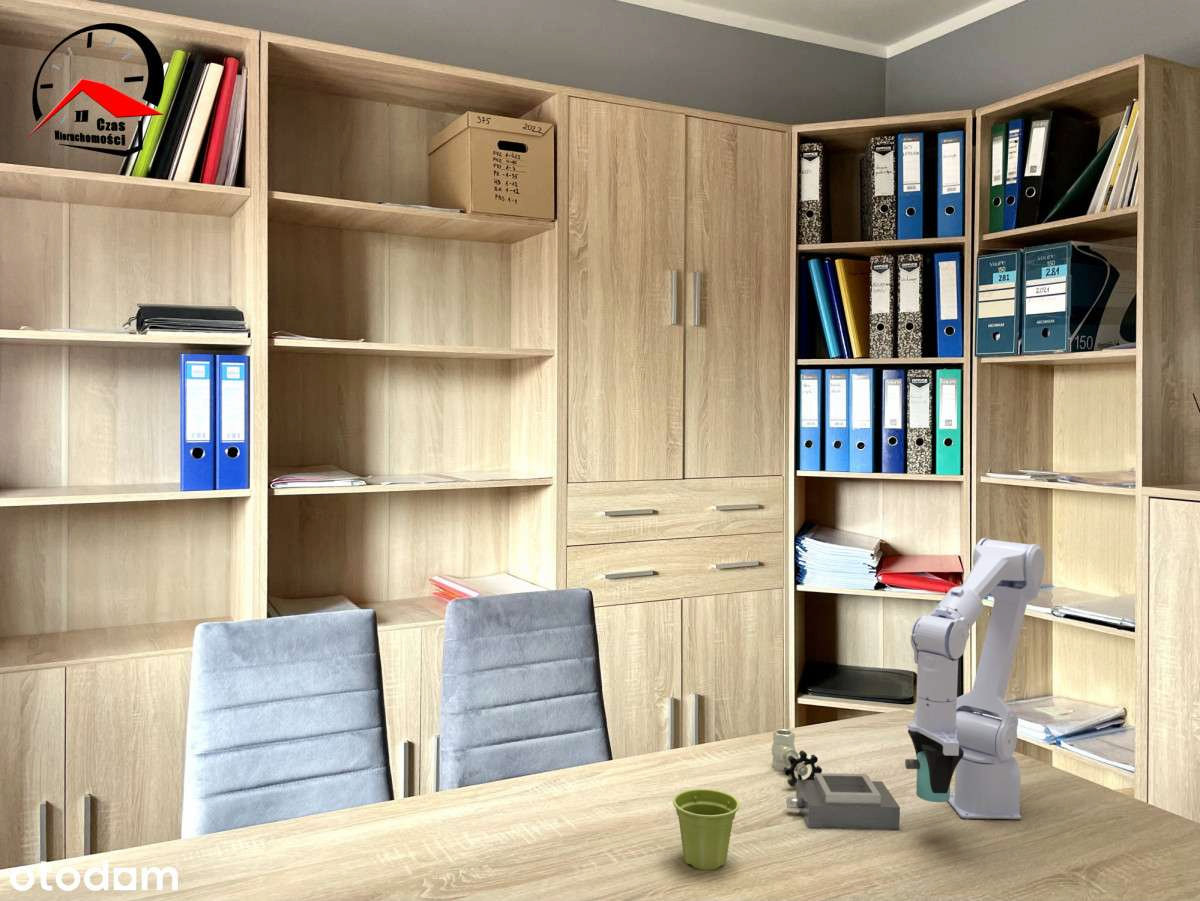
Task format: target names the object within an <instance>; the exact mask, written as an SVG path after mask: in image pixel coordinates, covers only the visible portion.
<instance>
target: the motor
mask: <svg viewBox="0 0 1200 901" xmlns="http://www.w3.org/2000/svg"><path fill="white" fill-rule="evenodd" d="M814 778H815V780H797V783H796V796H795V797H786V799H785V800H786V808H787V809H799V810H800V813H801V814H802V816H803V817H802V818H803V819H804V822H805V824H806V826H807V828H808V829H841V830H842V829H843V830H845V829H848V830H851V829H852V830H853V829H854V830H860V829H861V830H900V823H901V822H900V821H901V820H900V819H901V818H900V817H901V816H900V814H901V807H900V805H899V803H898V802H897V800H895V797H894V796H893V795H892V793H891V792H890V791H889V789H888V788H887V786H886V785H885V783H884V782H883V781H881V780H880V781H877V780H874V781H872V779H871V778H870V777H869V775H868V773H831V772H830V773H829V772H823V773H822V772H821V773H815V776H814Z"/></svg>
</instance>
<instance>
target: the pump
mask: <svg viewBox="0 0 1200 901" xmlns="http://www.w3.org/2000/svg"><path fill="white" fill-rule="evenodd" d="M904 765H905V769H906V770H916V785H915V787H916V788H915V794H916V797H918V798H920V799H921V800H924V801H928V802H931V803H945V802H948V800H949V799H950V795H951V785H950V786H949V789H948V792H947V793H933V792H932V789H931V785H930V776H929V767H928V762H927V759H926V756H925V753H924V751H921V752H919V753H918V754H917V756H916V759H915V758H911V759H910V758H905V761H904Z"/></svg>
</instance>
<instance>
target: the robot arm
mask: <svg viewBox="0 0 1200 901" xmlns="http://www.w3.org/2000/svg"><path fill="white" fill-rule="evenodd" d="M1044 554H1045V553H1044V551H1043V549H1042V548H1041V547H1040V545H1039V544H1037V543H1031V544H1028V543H1021V542H1020V543H1019V542H1014V541H1013V542H1012V541H1006V540H995V539H989V538H986V537H983V538H981V539H979V541H978V542H977V543H976V545H975V546H974V549H973V553H972V569H971V570H970V571H969V573H968V574H967V576H966V579H965V580H964V581H963V582H962V585H961V586H954V587H952V588H950V589H949V590H948V592H946V594H945V595H944V597H943V598H942V599H941V600H940V602H939V603H938V604H937V605H936V606H935V608H934V609H933V610H932V611H931V613H930V614H924V615H923V616H920V617H917V619H916V620H915V621H914V623H913V626H912V629H911V635H910V644H911V648H912V649H913V650H912V651H913V661H914V664H916V665H917V667H916V668H917V671H916V672H917V673H916V674H917V675H916V698H915V699H916V702H915V706H916V707H915V708H914V709H913V710H914V711H913V721H914V722H907V728H908V730H907V733H908V735H909V737H910V739H911V743H912V744H913V748H914V751H915V755H916V757H917V754H918V753H919V752H921V751H924V753H925V756H926V759H927V762H928V767H929V776H930V785H931V789H932V792H933V793H947V792H948V789H949V786H950V787H951V782H952V779H953V775H954V793H953V794H950V799H949V800H948V801H947V802H948V803H949V805H950V806H951V807H952V808H953V809H954V810H955V812H956V813H957V814H958V815H959V816H960V818H962V819H989V820H991V819H993V820H996V819H998V820H1000V819H1004V820H1021V818H1022V815H1020V802H1021V800H1020V799H1021V798H1020V797H1021V771H1020V766H1019V763H1018V762H1017V760H1016V758H1015V757H1014V756H1013V754H1014V753H1015V750H1016V747H1017V742H1018V724H1019V717H1018V715H1017V713H1016V712H1015V710H1014V709H1013V708H1012V706H1010V704H1008V702H1007V701H1006V699H1005V697H1006V692H1007V689H1008V684H1009V680H1010V676H1011V672H1012V667H1013V664H1014V659H1015V656H1016V655H1015V654H1016V650H1017V648H1018V647H1017V646H1018V642H1019V638H1020V634H1021V631H1022V626H1023V622H1024V617H1025V613H1026V609H1027V605H1028V603H1029V602H1030V601H1033V600H1034V599H1037V598H1038V596H1039V592H1040V590H1041V585H1042V581H1043V578H1044V573H1045V569H1046V563H1045V555H1044ZM989 594H990V595H991V596H992V597H993V600H994V602H993V605H992V609H991V613H990V617H989V621H988V627H987V629H986V632H985V633H986V634H985V638H984V641H983V645H982V649H981V655H980V658H979V663H978V666H977V670H976V675H975V678H974V682H973V687H972V690H971V691H969V692H966V693H964V694H962V695H960V696H958V676H959V675H958V674H959V672H958V670H959V658H961V657H962V656H963V654H964V652H965V649H966V646H967V642H968V639H969V638H970V637H969V636H970V629H971V628H972V627H973V625H974V624H975V623H976V622H977V620H978V619H979V618H980V616H981V615H982V613H983V612H984V611H983V610H984V604H983V601H984V599H985V598H986V597H987V596H988V595H989Z"/></svg>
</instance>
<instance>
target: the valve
mask: <svg viewBox="0 0 1200 901" xmlns="http://www.w3.org/2000/svg"><path fill="white" fill-rule="evenodd" d="M772 741H773V743H772V745H771V755H772V756H773V757H772V765H771V766H772V767H773V769H776V770H775V771H778V770H780V772H783V774H784V775H785V776H790V779H789V778H788V779H787V784H788V785H789V786H790V787H795V785H797V780H815V773H822V772H823V769H822V767H821V766H820V765H815V764H816V763H817V762H818V761H819V759H818V757H817V756H816V755H815V754H811V755H810V758H808V754H807V752H806V751H805V750H800V751H799V753H798V751H796V746H795V744H794V743H795V733H794V731H792V730H790V729H786V728H779V729H778V728H777V729H775V730H773V731H772ZM808 765H810V767H811V771H810V774H809V776H807V774H808V767H807V766H808ZM795 773H796V774H797V777H796V775H795ZM805 775H806V776H807V777H806V778H803V777H804V776H805Z"/></svg>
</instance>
